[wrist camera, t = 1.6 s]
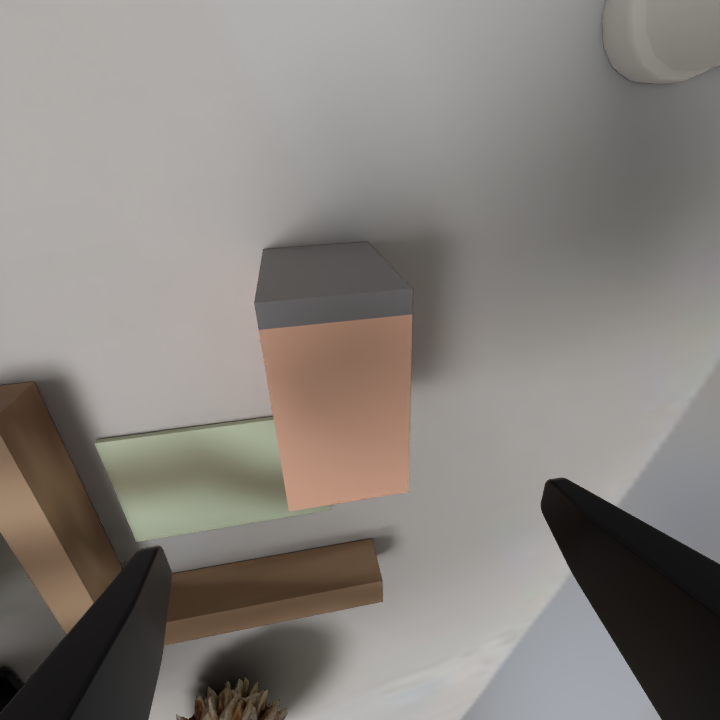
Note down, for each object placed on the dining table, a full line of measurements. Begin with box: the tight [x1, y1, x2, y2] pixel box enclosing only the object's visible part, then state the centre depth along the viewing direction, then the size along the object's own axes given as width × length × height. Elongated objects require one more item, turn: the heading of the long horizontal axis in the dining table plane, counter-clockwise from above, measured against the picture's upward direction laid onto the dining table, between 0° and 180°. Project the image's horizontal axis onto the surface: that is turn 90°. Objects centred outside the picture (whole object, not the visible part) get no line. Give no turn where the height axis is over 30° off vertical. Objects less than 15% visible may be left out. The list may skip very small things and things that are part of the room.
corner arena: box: [0, 382, 383, 645], centre depth 21 cm, size 16×17×3 cm
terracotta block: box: [254, 241, 413, 511], centre depth 16 cm, size 8×4×7 cm, turn 2°
